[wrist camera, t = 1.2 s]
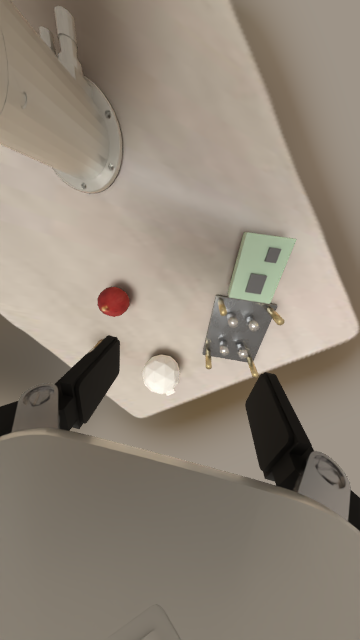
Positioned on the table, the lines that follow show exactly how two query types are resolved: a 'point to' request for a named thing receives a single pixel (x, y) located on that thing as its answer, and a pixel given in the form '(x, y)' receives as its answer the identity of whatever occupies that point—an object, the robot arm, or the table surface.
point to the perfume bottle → (161, 374)
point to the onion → (113, 301)
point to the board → (259, 266)
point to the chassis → (238, 329)
